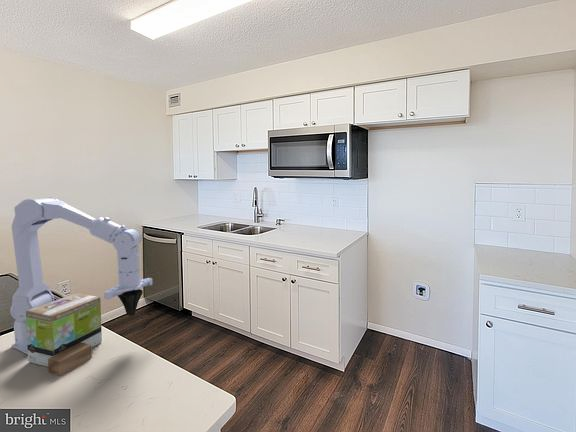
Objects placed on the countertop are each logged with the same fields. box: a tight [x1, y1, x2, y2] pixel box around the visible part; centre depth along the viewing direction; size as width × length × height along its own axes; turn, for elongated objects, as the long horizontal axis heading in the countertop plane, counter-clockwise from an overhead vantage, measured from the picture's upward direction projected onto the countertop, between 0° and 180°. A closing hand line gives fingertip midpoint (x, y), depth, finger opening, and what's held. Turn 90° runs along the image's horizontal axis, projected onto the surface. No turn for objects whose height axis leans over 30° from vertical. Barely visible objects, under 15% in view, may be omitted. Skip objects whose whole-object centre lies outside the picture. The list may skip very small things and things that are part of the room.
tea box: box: [26, 292, 103, 368], centre depth 92 cm, size 15×10×15 cm
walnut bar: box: [47, 342, 93, 377], centre depth 86 cm, size 4×9×4 cm, turn 161°
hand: (130, 314), depth 96 cm, fingers closed
